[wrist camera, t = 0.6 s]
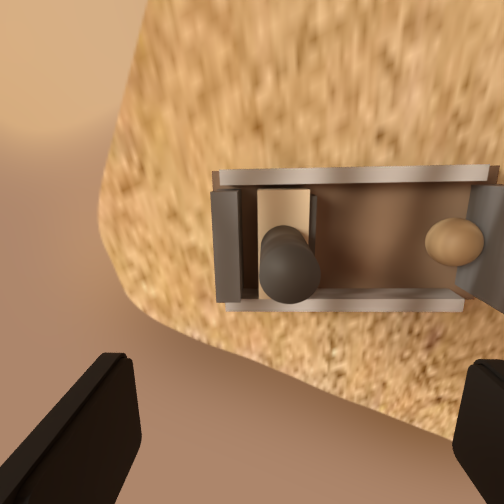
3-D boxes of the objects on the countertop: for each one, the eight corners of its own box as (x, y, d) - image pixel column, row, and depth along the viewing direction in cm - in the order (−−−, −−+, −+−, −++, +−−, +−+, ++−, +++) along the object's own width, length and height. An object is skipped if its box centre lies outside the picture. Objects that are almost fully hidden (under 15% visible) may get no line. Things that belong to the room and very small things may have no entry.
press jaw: (312, 187, 25) (339, 197, 16) (308, 285, 28) (330, 344, 18) (258, 188, 26) (254, 198, 16) (259, 285, 28) (256, 343, 19)
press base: (486, 164, 26) (572, 162, 19) (463, 293, 29) (528, 334, 22) (214, 170, 27) (196, 169, 20) (220, 293, 30) (207, 332, 23)
